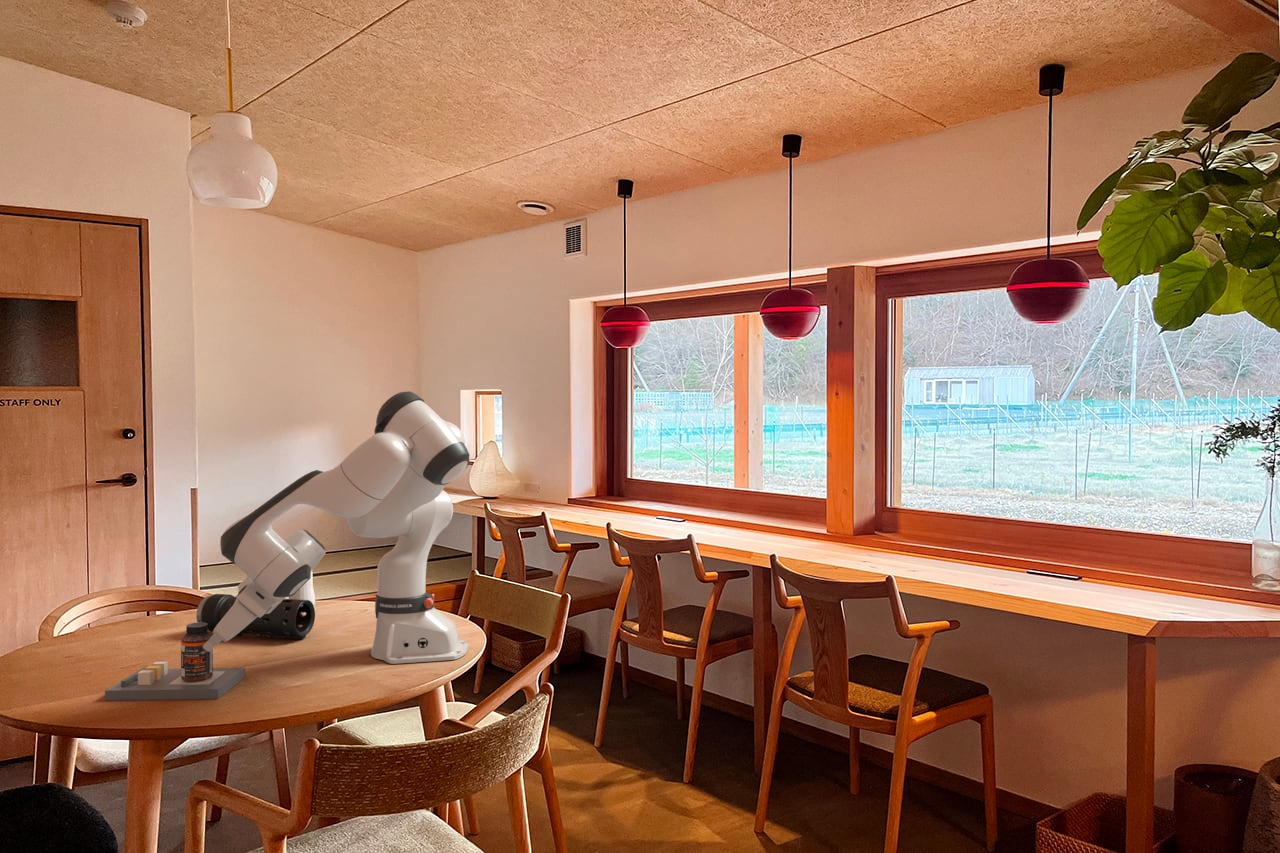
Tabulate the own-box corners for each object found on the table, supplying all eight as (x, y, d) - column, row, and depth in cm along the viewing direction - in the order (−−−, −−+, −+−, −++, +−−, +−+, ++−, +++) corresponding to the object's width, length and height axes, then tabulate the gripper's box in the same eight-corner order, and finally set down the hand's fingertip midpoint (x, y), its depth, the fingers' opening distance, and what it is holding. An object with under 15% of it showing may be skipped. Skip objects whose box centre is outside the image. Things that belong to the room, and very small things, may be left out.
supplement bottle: (180, 684, 179) (180, 629, 179) (181, 676, 185) (180, 622, 184) (213, 680, 182) (212, 626, 182) (213, 672, 187) (212, 619, 187)
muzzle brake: (294, 645, 216) (294, 603, 216) (194, 638, 222) (193, 597, 222) (316, 635, 226) (315, 595, 225) (219, 629, 231) (219, 589, 231)
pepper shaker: (314, 627, 233) (314, 555, 232) (285, 629, 231) (284, 556, 230) (318, 620, 240) (317, 550, 239) (289, 622, 238) (289, 551, 237)
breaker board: (245, 676, 191) (244, 656, 191) (217, 698, 178) (217, 676, 177) (140, 678, 190) (140, 657, 190) (105, 700, 176) (104, 678, 176)
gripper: (255, 574, 197) (208, 621, 195) (240, 593, 177) (187, 645, 175) (277, 593, 198) (230, 639, 196) (264, 614, 179) (212, 666, 176)
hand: (210, 642), depth 185 cm, fingers open, 8 cm apart
